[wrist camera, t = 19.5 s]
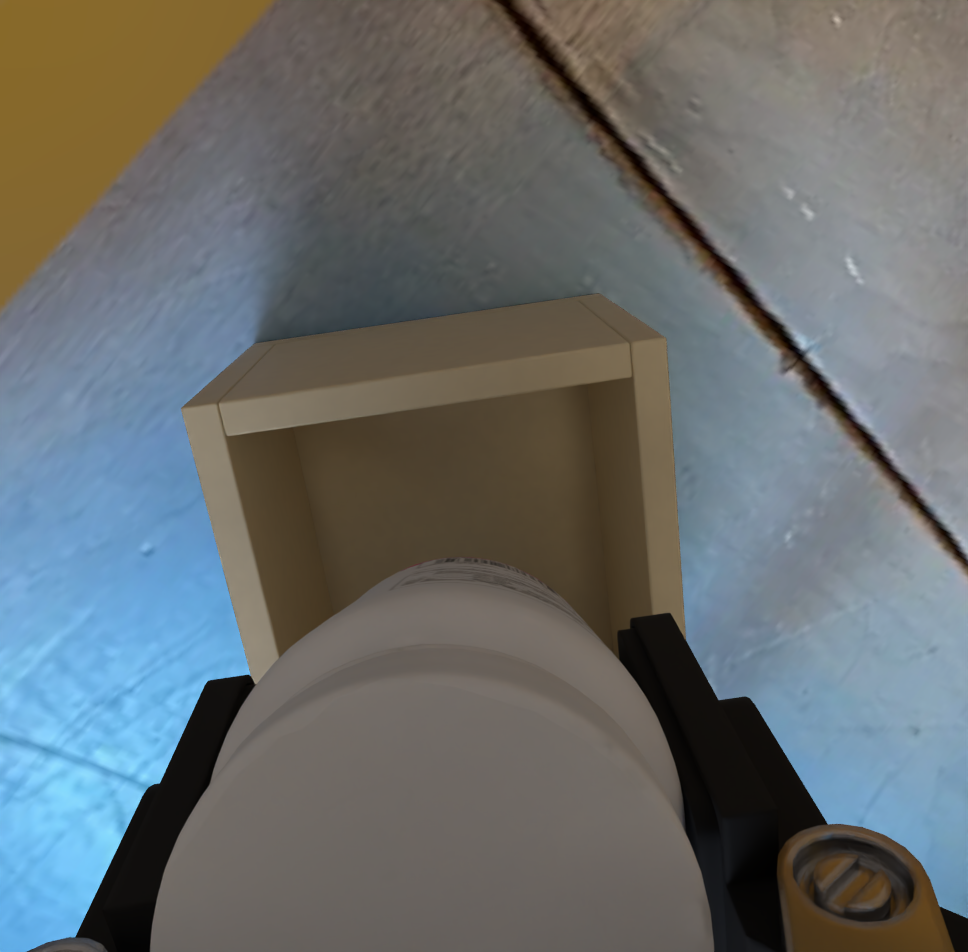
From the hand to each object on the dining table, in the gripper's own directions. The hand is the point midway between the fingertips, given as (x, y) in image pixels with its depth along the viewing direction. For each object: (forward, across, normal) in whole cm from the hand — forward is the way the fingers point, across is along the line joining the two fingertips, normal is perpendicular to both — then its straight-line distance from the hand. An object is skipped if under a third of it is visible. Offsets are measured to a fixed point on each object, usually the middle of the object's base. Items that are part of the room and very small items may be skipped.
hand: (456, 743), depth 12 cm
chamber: (+16, 0, +3) cm, 16 cm away
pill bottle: (+3, 0, +1) cm, 3 cm away
